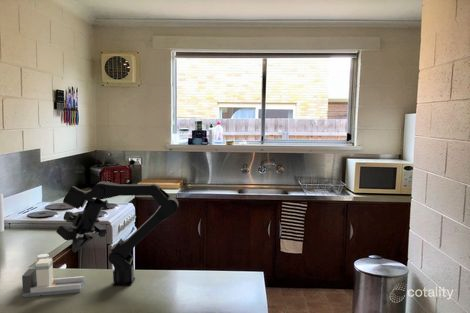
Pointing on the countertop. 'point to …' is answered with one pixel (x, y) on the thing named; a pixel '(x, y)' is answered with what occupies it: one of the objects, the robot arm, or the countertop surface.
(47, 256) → the supplement bottle
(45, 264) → the cream banded box
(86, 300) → the countertop surface
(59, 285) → the track
